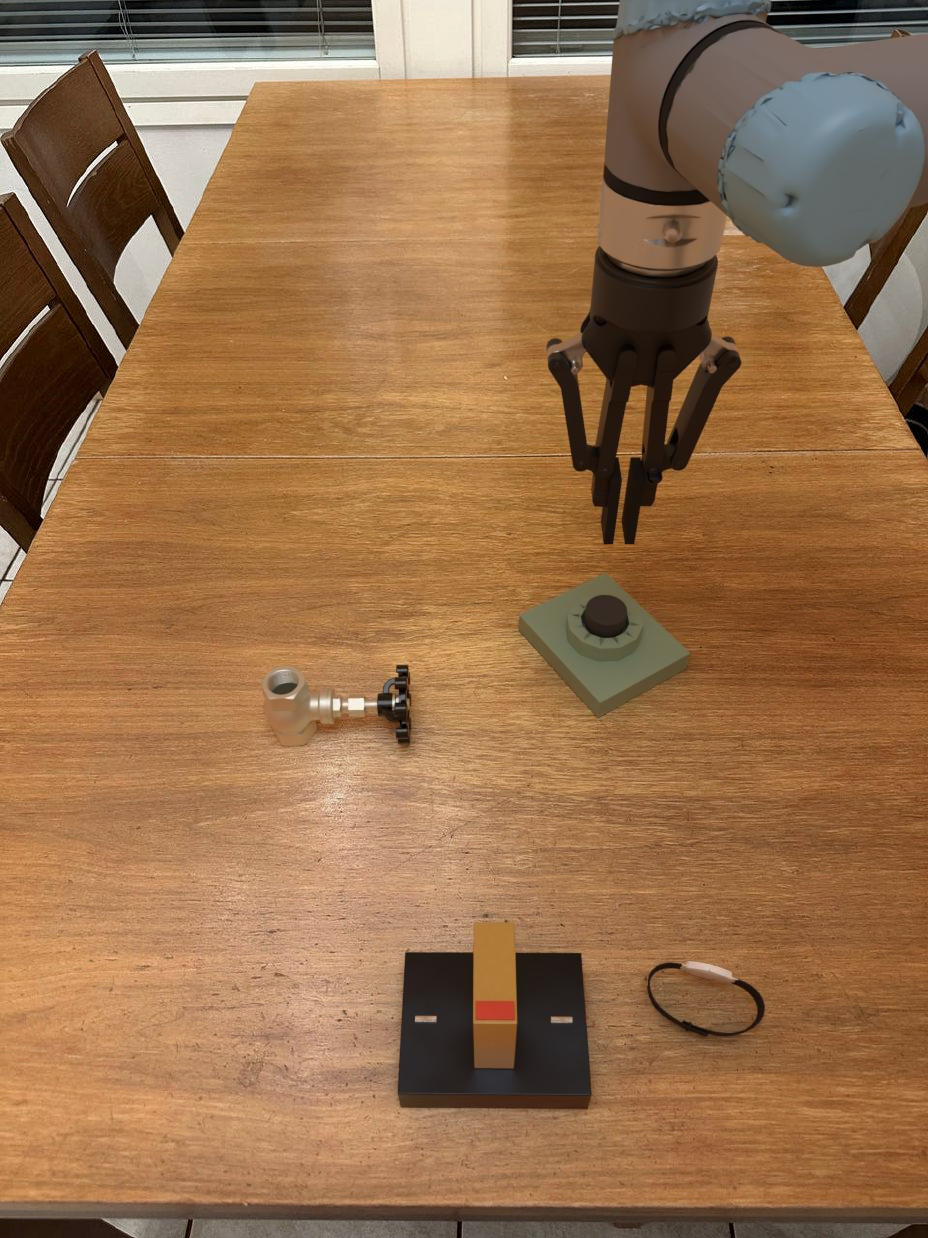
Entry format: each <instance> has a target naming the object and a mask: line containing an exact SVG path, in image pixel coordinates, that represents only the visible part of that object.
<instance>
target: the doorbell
mask: <svg viewBox="0 0 928 1238" xmlns="http://www.w3.org/2000/svg"><path fill="white" fill-rule="evenodd" d="M599 595H611V596H614V597H617V598H619V599H620V600H621V601H623V602H624V604H625V605H626V607H627V617H626V623H625V628H624V630H623V631H622V632H621V633H620V634H619V635H617V636H615V637H611V638H602V637H598V636H595V635H593V634H592V633H590V632H589V631H588V630H587V628H586V627H585V624H584V618H585V610H586V605H587V603H588V601H589V600H590V599H592V598H593V597H596V596H599ZM518 631H519V633H520V634H521V635H522V636H523V637H524V638H525V640H526V641H528V643H529V644H530V645H531V646H532V647H533V648H534V649H535V650H536V651H537V652H538V653H539V655H540V656H541V657H542V658H543V659H544V660H545V662H546V663H547V664H548V665H549V666H550V667H551V668H552V670H553V671H555V672H556V673H557V675H558V676H559V677H560V678H561V679H562V680H563V681H564V682H565V684H566V685H567V686H568V687H569V688H570V689H571V690H572V691H573V692H574V693H575V694H576V696H577V697H578V698H579V699H580V700H581V701H582V702H583V703H584V705H585V706H586V707H587V708H588V709H589V710H590V711H591V712H592V713H593V715H594V716H595V717H596V718H598V719H599V718H600V717H602V716H603V715H606V714H608V713H609V712H611V711H613V710H615V709H617V708H618V707H620V706H623V705H624V704H625V703H627V702H630V701H631V700H633V699H635V698H636V697H638V696H640V695H641V694H642V695H643V694H644V693H645V692H647V691H649V690H650V689H652V688H654V687H656V686H658V685H660V684H661V683H663V682H665V681H667V680H668V679H671V678H672V677H674V676H676V675H678V674H680V673H682V672H683V671H685V670H687V669H688V664H689V660H690V656H691V652H690V651H689V650H688V649H687V648H686V647H685V646H684V645H682V644H681V642H679V640H677V638H675V637H674V636H673V635H672V634H671V633H670V632H669V631H668V630H667V629H666V628H665V627H663V625H662V624H660V623H659V622H658V621H657V620H656V619H655V618H654V617H653V616H652V615H651V614H650V613H649V612H648V611H647V610H646V609H645V608H644V607H643V606H642V605H641V604H640V603H639V602H638V601H637V600H635V598H634V597H632V596H631V595H630V594H629V593H628V592H627V591H626V590H625V589H624V588H623V587H622V586H621V585H620V584H619V583H618V582H616V581H615V579H613V577H612V576H610V574H608V573H607V572H603V573H602V574H601V573H600V574H599V575H596V576H595V577H593V578H591V579H589V580H588V581H587V580H586V581H585V582H583V583H581V584H579V585H577V586H575V587H573V588H571V589H569V590H566V591H565V592H562V593H560V594H558V595H557V596H555V597H552V598H550V599H548V600H546V601H543V602H542V603H540V604H538V605H536V606H535V607H532V608H530V609H528V610H526V611H523V612H521V613H519V615H518Z"/></svg>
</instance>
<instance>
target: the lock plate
mask: <svg viewBox="0 0 928 1238" xmlns="http://www.w3.org/2000/svg"><path fill="white" fill-rule="evenodd" d="M403 964H404V966H403V968H404V969H403V982H402V984H403V985H402V1001H401V1003H402V1005H401V1018H400V1019H401V1020H400V1021H401V1022H400V1039H399V1056H398V1057H399V1058H398V1075H397V1076H398V1078H397V1098H398V1102H399V1106H400V1108H402V1109H403V1108H404V1109H406V1108H407V1109H408V1108H410V1109H412V1108H413V1109H414V1108H415V1109H522V1110H523V1109H527V1110H529V1109H531V1110H533V1109H535V1110H536V1109H539V1110H543V1109H544V1110H588V1109H589V1106H590V1103H591V1100H592V1099H591V1098H592V1096H593V1095H592V1091H593V1090H592V1081H591V1080H592V1079H591V1068H590V1067H591V1065H590V1052H589V1039H588V1037H589V1036H588V1027H587V1026H588V1025H587V1013H586V1011H587V1010H586V1000H585V984H584V972H583V971H584V970H583V957H582V952H516V991H517V1034H516V1048H515V1062H514V1068H475V1067H474V1038H473V951H472V952H471V951H470V952H469V951H466V952H465V951H455V952H454V951H405V952H404V963H403Z"/></svg>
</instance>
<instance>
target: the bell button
mask: <svg viewBox="0 0 928 1238" xmlns="http://www.w3.org/2000/svg"><path fill="white" fill-rule="evenodd" d="M626 617H627V607H626V605H625V604H624V602H623V601H621V600H620V599H619V598H617V597H614V596H611V595H599V596H596V597H593V598H592V599H590V600H589V601H588V603H587V605H586V610H585V618H584V624H585V627H586V628H587V630H588V631H589V632H590V633H592V634H593V635H595V636H598V637H602V638H611V637H615V636H617V635H619V634H620V633H621V632H622V631H623V630H624V628H625V623H626Z"/></svg>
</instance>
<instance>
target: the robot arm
mask: <svg viewBox="0 0 928 1238" xmlns="http://www.w3.org/2000/svg"><path fill="white" fill-rule="evenodd" d="M618 4H619V5H618V13H617V18H616V25H615V27H614V29H613V30H612V31H611V32H612V33H611V40H612V41H613V43H612V44H613V45H612V57H611V67H610V69H611V70H610V80H609V82H610V83H609V93H608V109H607V121H606V135H605V145H604V146H605V147H604V161H603V163H604V164H603V173H602V179H601V189H600V190H601V191H600V199H599V208H598V217H597V229H596V240H597V245H599V246H598V247H597V248H596V250H595V254H594V262H593V263H594V264H593V274H592V286H591V295H590V307H589V310H588V314H587V315H586V317H585V318H584V320H583V321H582V322H581V325H580V329H579V333H577V334H574V335H573V336H571V337H569V338H567V339H565V340H564V341H563V340H562V339H560V338H558V337H554V338H550V339H549V340H548V341H547V343H546V348H545V349H546V357H547V368H548V370H549V373H550V374H551V376H552V377H553V378H554V380H555V381H556V383H557V385H558V386H559V388H560V393H561V400H562V405H563V412H564V417H565V424H566V430H567V437H568V445H569V449H570V457H571V462H572V468H573V470H574V471H576V472H585V471H590V472H591V473H592V478H591V485H590V486H591V488H590V493H591V501H592V504H593V506H594V508H602V509H601V515H600V527H601V534H602V535H601V536H602V542H603V545H608V546H609V545H611V546H612V545H614V541H615V534H616V527H617V519H618V514H619V505H620V499H621V491H622V483H623V478H622V470H621V464H620V459H619V457H618V456H617V455H618V449H619V445H620V439H621V434H622V430H623V429H622V428H623V423H624V418H625V413H626V407H627V403H628V402H629V400H630V395H631V390H632V388H633V387H637V386H644V387H646V395H645V397H646V398H645V406H644V407H645V408H644V415H643V416H644V418H643V427H642V428H643V429H642V440H641V450H640V452H641V456H630V459H629V465H628V472H627V480H626V486H625V493H624V501H623V507H622V514H621V521H620V522H621V529H622V535H623V541H624V545H635V543H636V538H637V537H636V536H637V531H638V525H639V524H638V523H639V519H640V512H641V507H652V506H653V504H654V503H655V501H656V495H657V490H658V484H660V483H661V482H662V481H663V479H664V477H663V472H665V471H667V470H673V471H675V472H676V471H678V472H680V471H683V470H684V469H686V467H687V466H688V464H689V462H690V460H691V457H692V456H693V453H694V451H695V449H696V446H697V444H698V442H699V439H700V438H701V436H702V433H703V431H704V428H705V426H706V424H707V422H708V419H709V417H710V415H711V412H712V410H713V408H714V406H715V404H716V401H717V398H718V397H719V395H720V393H721V390H722V388H723V386H724V385H726V383H727V382H728V381H729V380H730V379H731V378H732V377H733V375H735V373H737V371H738V370H739V369H740V368H741V367H742V359H741V356H740V353H739V351H738V346H737V344H736V341H735V339H734V338H733V337H732V336H724V337H719V336H717V335H716V334H714V333H713V332H712V328H711V325H710V322H709V318H708V317H709V313H710V308H711V303H712V297H713V292H714V286H715V282H716V276H717V271H718V267H719V266H718V265H719V260H718V256H717V254H718V253H719V252H720V250H721V247H722V244H723V239H724V233H725V227H726V222H727V217H728V218H729V219H730V220H731V223H732V224H733V225H734V227H736V228H737V229H738V231H740V232H741V233H742V234H743V235H744V236H745V237H750V238H751V239H752V240H753V241H754V242H756V243H757V244H763V245H764V246H766V247H768V248H769V249H770V250H771V251H773V252H775V253H776V254H778V256H780V257H782V258H783V259H784V260H786V261H788V262H790V263H792V264H795V265H798V266H803V267H807V268H824V267H829V266H830V267H831V266H834V265H837V264H841V263H843V262H846V261H848V260H850V259H852V258H854V257H855V255H856V254H857V252H858V251H859V250H861V249H862V248H863V247H865V246H867V245H869V244H874V243H875V244H876V242H878V241H879V240H880V239H882V238H883V237H884V236H885V235H886V234H887V233H888V232H889V231H890V230H891V229H892V228H893V227H894V225H895V224H896V222H897V221H898V220H899V219H900V218H901V216H902V215H903V214H904V212H905V211H906V209H909V208H915V207H920V206H924V205H928V33H919V34H913V35H904V36H898V37H891V38H885V39H878V40H871V41H864V42H858V43H852V44H851V43H850V44H845V45H838V46H832V47H811V46H807V45H804V44H802V43H801V42H799V41H797V40H795V39H793V38H791V37H790V36H788V35H786V34H784V33H781V32H780V31H778V30H777V29H776V28H774V27H773V26H772V25H770V24H769V23H767V17H768V14H770V12H771V8H772V0H619V3H618ZM586 353H587V354H588V356H589V357H590V358H591V360H592V361H593V363H595V365H596V366H597V367H598V369H599V370H600V371H601V373H602V375H603V376H604V377H605V384H604V391H603V395H602V396H603V397H602V401H601V403H602V404H601V408H600V413H599V420H598V425H597V426H598V427H597V431H596V432H597V433H596V439H595V444H593V445H591V444H588V441H587V435H586V427H585V418H584V412H583V406H582V399H581V392H580V385H579V377H578V374H579V373H580V371H581V370H582V369H583V367H584V362H583V361H584V360H583V356H584V355H585V354H586ZM698 357H699V360H700V361H699V362H700V363H699V365H698V367H697V369H696V372H695V374H694V376H693V379H692V381H691V383H690V386H689V388H688V391H687V393H686V395H685V398H684V400H683V403H682V405H681V407H680V409H679V412H678V415H677V417H676V420H675V422H674V424H673V426H672V429H671V432H670V433H669V436H668V439H667V441H666V435H667V426H668V418H669V417H668V416H669V409H670V402H671V401H672V394H673V388H674V387H673V386H674V380H675V379H677V377H678V376H679V375H680V374H682V373H683V372H684V371H685V370H686V369H687V368H688V367H689V366H690V365H691V364H692V363H693V362H694V361H695V360H696V359H697V358H698Z"/></svg>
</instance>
